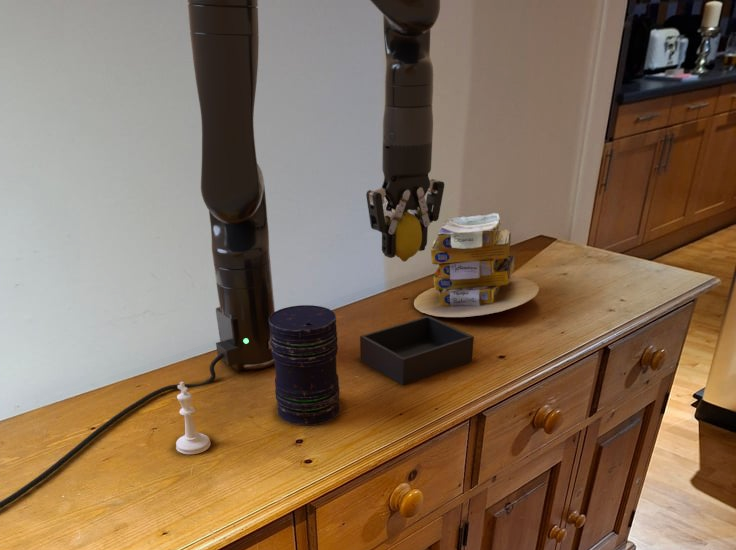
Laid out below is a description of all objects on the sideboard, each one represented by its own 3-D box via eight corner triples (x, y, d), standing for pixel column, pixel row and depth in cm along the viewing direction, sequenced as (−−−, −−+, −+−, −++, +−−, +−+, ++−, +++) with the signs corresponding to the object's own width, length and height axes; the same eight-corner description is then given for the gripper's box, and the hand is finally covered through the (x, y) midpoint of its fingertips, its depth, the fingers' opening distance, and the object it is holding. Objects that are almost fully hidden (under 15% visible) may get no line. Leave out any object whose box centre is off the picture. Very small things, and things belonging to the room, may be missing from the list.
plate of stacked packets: (393, 315, 140) (394, 228, 130) (441, 277, 158) (445, 198, 148) (513, 336, 131) (524, 243, 121) (550, 293, 148) (562, 209, 138)
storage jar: (269, 402, 112) (260, 310, 103) (328, 390, 115) (323, 300, 106) (287, 431, 104) (278, 335, 95) (349, 418, 107) (346, 324, 98)
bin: (402, 385, 116) (403, 359, 113) (360, 360, 124) (359, 335, 121) (472, 361, 122) (474, 336, 120) (427, 339, 130) (428, 315, 128)
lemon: (418, 267, 114) (420, 215, 110) (385, 265, 115) (385, 214, 111) (423, 257, 119) (425, 207, 114) (390, 255, 120) (391, 205, 115)
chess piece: (195, 433, 105) (184, 371, 99) (217, 443, 102) (207, 380, 96) (169, 447, 102) (155, 384, 96) (191, 458, 99) (179, 394, 93)
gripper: (429, 130, 112) (424, 240, 122) (354, 140, 106) (355, 255, 116) (460, 137, 107) (452, 250, 117) (383, 147, 101) (382, 267, 111)
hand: (404, 252), depth 116 cm, fingers closed on lemon, 5 cm apart
